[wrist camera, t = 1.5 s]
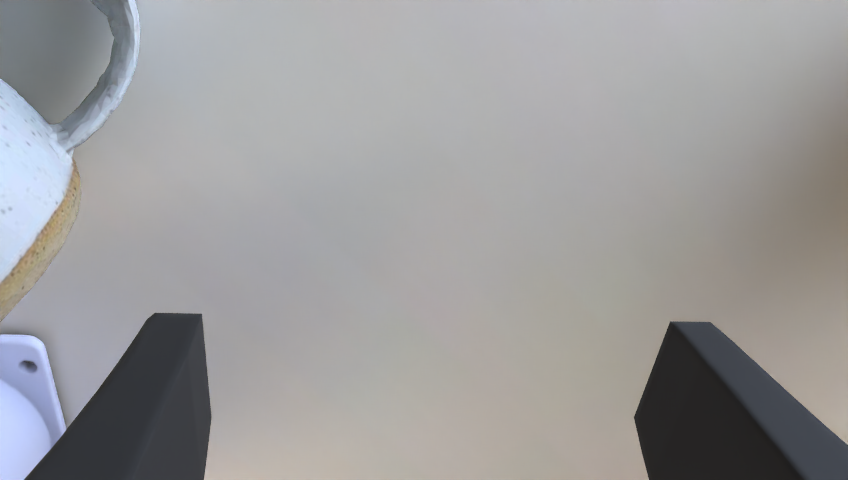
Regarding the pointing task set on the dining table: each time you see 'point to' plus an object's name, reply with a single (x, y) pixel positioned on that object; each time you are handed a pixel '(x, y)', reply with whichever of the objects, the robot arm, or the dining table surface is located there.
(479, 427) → the dining table surface
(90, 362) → the dining table surface
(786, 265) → the dining table surface
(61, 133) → the ceramic mug
